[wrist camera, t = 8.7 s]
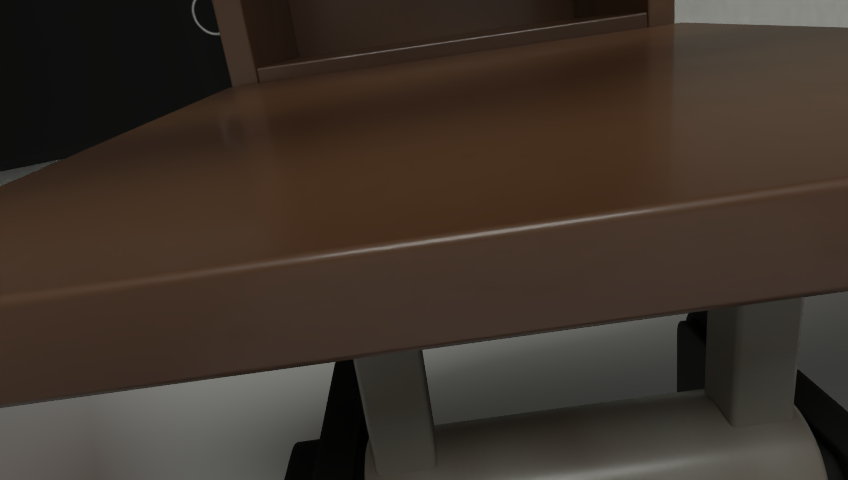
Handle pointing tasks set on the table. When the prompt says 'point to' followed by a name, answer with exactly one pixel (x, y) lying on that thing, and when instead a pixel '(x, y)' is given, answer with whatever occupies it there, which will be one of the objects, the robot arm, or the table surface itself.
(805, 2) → the table surface
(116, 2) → the cell phone
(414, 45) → the wooden box
